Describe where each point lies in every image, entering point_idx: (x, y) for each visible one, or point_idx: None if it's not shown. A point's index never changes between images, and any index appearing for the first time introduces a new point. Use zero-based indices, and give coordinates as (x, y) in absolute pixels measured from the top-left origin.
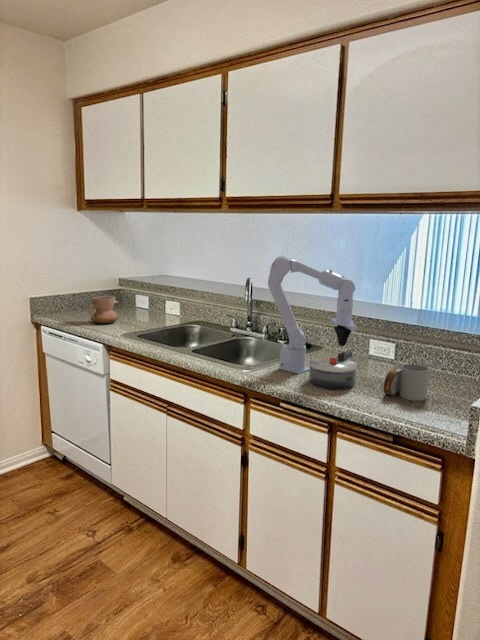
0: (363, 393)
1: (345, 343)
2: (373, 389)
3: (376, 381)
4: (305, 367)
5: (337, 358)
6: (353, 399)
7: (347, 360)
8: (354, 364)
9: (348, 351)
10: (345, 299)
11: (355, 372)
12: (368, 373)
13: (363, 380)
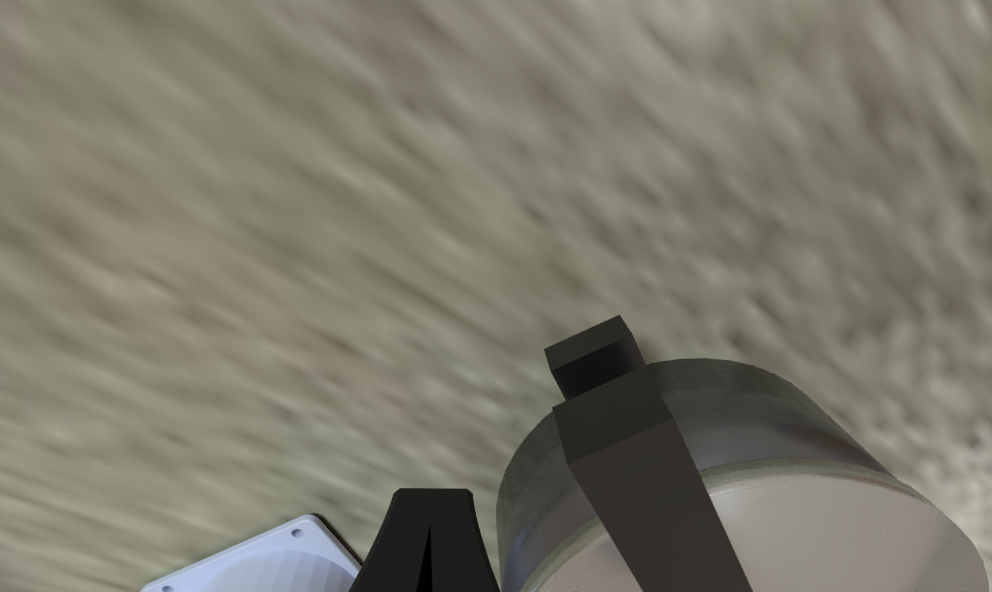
0: (963, 434)
1: (475, 531)
2: (968, 318)
3: (859, 145)
4: (277, 536)
5: (613, 561)
6: (979, 539)
7: (744, 508)
8: (909, 520)
9: (626, 466)
10: None
11: (893, 476)
12: (615, 27)
13: (762, 250)
